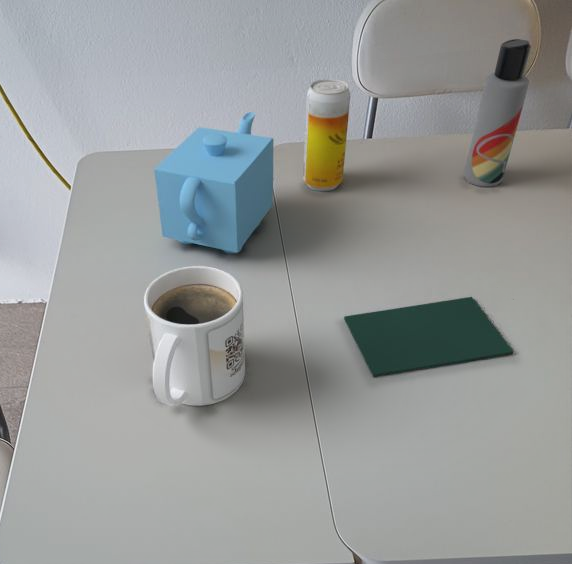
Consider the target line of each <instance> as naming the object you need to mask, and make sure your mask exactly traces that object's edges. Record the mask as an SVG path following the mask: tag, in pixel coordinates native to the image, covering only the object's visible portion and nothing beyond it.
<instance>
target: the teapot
mask: <svg viewBox="0 0 572 564" xmlns="http://www.w3.org/2000/svg"><path fill="white" fill-rule="evenodd" d="M255 117H256V114H255V112H253V111H250V112H247V113H245V114H244V115H243V116H242V118H241V119H240V122H239V126H238V128H237V131H236V132H235V131H229V130H222V129H214V128H208V127H201V126H199V127H197V128H196V129H195V130H194V131H193V132H192V133H191V134H190V135H188V136H187V137H186V138H185V139H184V140H183V141H182V142H181V143H180V144H179V145H177V147H176V148H175V149H174V150H172V152H170V153H169V154H168V155H167V156H166V157H165V158H164V159H163V160H162V161H161V162H160V163H159V164H158V165H157V166H156V167H155V169H153V170H154V171H153V172H154V178H155V187H156V194H157V202H158V210H159V219H160V225H161V233H162V237H163V238H168V239H171V240H172V239H173V240H176V241H179V242H180V243H181V244H184V245H190V244H196V245H200V246H205V247H209V248H212V249H213V248H214V249H218V250H221V251H223V252H224V253H227V254H237V253H239V252H241V251H242V250H243V247H244V244H245V243H246V242H247V240H248V239H249V238H250V236H251V235H252V233H254V231H255V230H256V228H258V227H259V226H260V225H261V221H262V220H263V219H264V217H265V216H266V215H267V213H268V212H269V210H270V209H271V208H272V206H273V205H274V142H275V141H274V140H275V139H274V138H273V137H268V136H261V135H255V134H252V128H253V123H254V119H255Z"/></svg>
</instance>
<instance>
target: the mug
mask: <svg viewBox="0 0 572 564" xmlns="http://www.w3.org/2000/svg"><path fill="white" fill-rule="evenodd" d="M143 306H144V312H145V313H144V314H145V318H146V325H147V331H148V336H149V342H150V348H151V354H152V360H153V361H152V362H153V365H152V386H153V391H154V394H155V396H156V399H157V400H158V402H160V403H162V404H165V405H167V406H171V407H177V406H179V405H181V404H182V405H186V406H194V407H197V406H198V407H200V406H209V405H213V404H217V403H220V402H222V401H224V400H226V399H228V398H230V397H232V395H234V394H235V393H236V392H237V391H238V390H239V388H241V386H242V384H243V382H244V380H245V377H246V355H245V354H246V353H245V349H246V348H245V323H244V321H245V320H244V319H245V318H244V317H245V316H244V293H243V288H242V285H241V284H240V281H238V279H237V278H236V277H234V276H233V275H232V274H231V273H228V272H227V271H225V270H222V269H220V268H216V267H214V266H213V267H212V266H206V265H190V266H188V265H187V266H182V267H178V268H175V269H172V270H169V271H167V272H164V273H162V274H161V275H158V277H157V278H155V279H153V281H152V282H151V283H150V284H149V285H148V286H147V288H146V290H145V292H144V296H143Z"/></svg>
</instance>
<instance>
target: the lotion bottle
mask: <svg viewBox="0 0 572 564" xmlns="http://www.w3.org/2000/svg"><path fill="white" fill-rule="evenodd" d="M531 50H532V45H531V44H530V41H529V40H527V39H521V38H514V39H513V38H512V39H509V40H507V41H504V42H502V43H501V44H500V48H499V52H498V56H497V60H496V63H495V64H496V65H495V69H494V72H491V73H490V74H487V76H486V78H485V81H484V84H483V89H482V93H481V98H480V101H479V106H478V111H477V115H476V120H475V123H474V129H473V133H472V137H471V140H470V145H469V146H470V147H469V151H468V155H467V159H466V164H465V168H464V173H463V174H464V179H465V181H467V183H469V184H471V185H473V186H478V187H482V188H483V187H484V188H487V187H495V186H498V185H500V184H501V183H502V181H503V179H504V176H505V172H506V169H507V167H508V166H507V165H508V162H509V158H510V155H511V151H512V148H513V143H514V140H515V137H516V132H517V129H518V127H519V122H520V118H521V115H522V111H523V107H524V104H525V100H526V96H527V93H528V89H529V85H530V79H529V78H528V77H527V76H526V75H525V71H526V68H527V64H528V60H529V56H530V53H531Z"/></svg>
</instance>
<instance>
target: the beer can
mask: <svg viewBox="0 0 572 564" xmlns="http://www.w3.org/2000/svg"><path fill="white" fill-rule="evenodd" d="M350 103H351V91H350V88H349V84H348V83H347V82H346V81H344V80H341V79H336V78H323V79H318V80H314V81H313V82H312V83H311V84H309V88H308V90H307V92H306V107H305V108H306V109H305V127H304V128H305V129H304V150H303V151H304V153H303V172H302V173H303V175H302V179H303V182H304V183H305V184H306V186H307V187H308V188H309V189H311V190H313V191H319V192H328V191H333V190H335V189H336V188H337V187H339V185H340V184H341V183H342V182H343V180H344V169H345V159H346V149H347V138H348V137H347V136H348V128H349V127H348V126H349V114H350Z"/></svg>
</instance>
